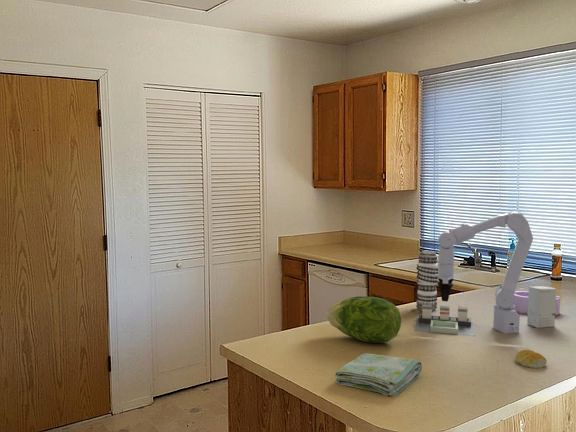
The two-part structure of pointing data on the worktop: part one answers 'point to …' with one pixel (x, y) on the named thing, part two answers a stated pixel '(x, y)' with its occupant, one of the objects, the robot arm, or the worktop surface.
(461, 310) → the block
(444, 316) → the block
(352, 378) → the towel
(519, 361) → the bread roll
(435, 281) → the striped tower model
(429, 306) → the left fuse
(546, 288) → the skincare box
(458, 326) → the panel
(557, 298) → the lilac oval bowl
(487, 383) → the worktop surface
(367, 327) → the lettuce
